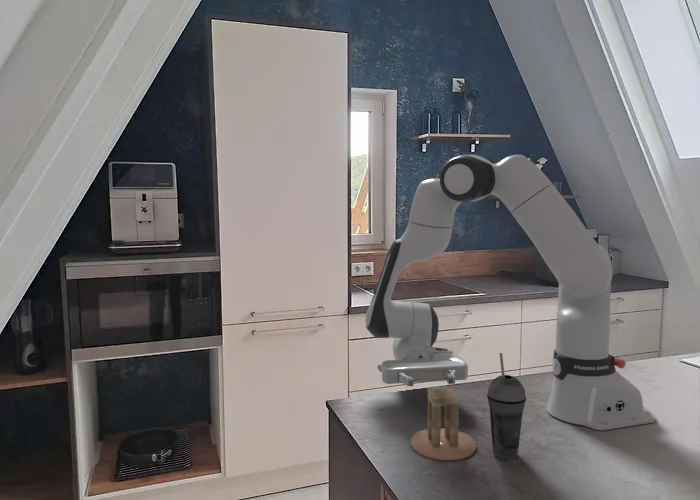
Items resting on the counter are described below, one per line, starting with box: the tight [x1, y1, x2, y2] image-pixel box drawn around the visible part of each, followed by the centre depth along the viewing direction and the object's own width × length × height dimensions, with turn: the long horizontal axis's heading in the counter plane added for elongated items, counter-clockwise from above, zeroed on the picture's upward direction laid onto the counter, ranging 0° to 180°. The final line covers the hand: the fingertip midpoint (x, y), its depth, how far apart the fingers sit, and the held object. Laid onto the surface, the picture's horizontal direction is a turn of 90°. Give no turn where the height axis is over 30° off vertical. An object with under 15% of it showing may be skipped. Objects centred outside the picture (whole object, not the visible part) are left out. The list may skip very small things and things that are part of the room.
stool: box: [427, 388, 460, 448], centre depth 110 cm, size 5×5×10 cm
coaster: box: [410, 427, 477, 462], centre depth 110 cm, size 13×13×1 cm
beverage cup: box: [486, 352, 527, 460], centre depth 105 cm, size 7×7×20 cm
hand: (431, 381), depth 121 cm, fingers open, 8 cm apart
